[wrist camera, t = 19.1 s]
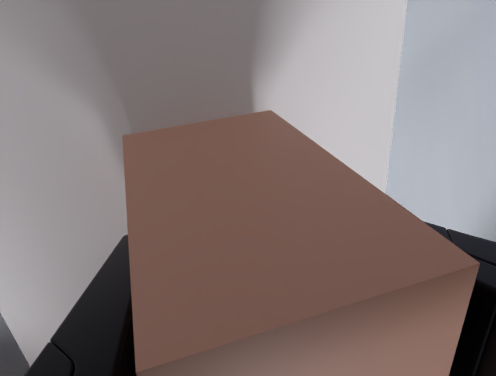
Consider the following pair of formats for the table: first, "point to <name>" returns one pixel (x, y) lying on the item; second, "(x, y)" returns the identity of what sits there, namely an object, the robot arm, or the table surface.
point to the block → (280, 260)
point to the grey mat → (163, 114)
